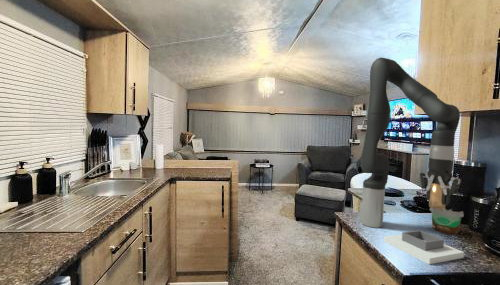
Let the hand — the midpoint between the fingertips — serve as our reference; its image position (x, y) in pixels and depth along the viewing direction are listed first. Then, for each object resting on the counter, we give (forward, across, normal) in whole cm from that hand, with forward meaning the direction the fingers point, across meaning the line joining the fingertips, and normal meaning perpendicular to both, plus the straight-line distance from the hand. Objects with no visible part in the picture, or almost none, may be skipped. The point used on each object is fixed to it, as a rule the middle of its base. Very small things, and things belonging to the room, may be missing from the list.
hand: (437, 202), depth 99 cm
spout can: (+2, 0, 0) cm, 2 cm away
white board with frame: (+17, 0, -7) cm, 18 cm away
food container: (+17, -9, +21) cm, 29 cm away
